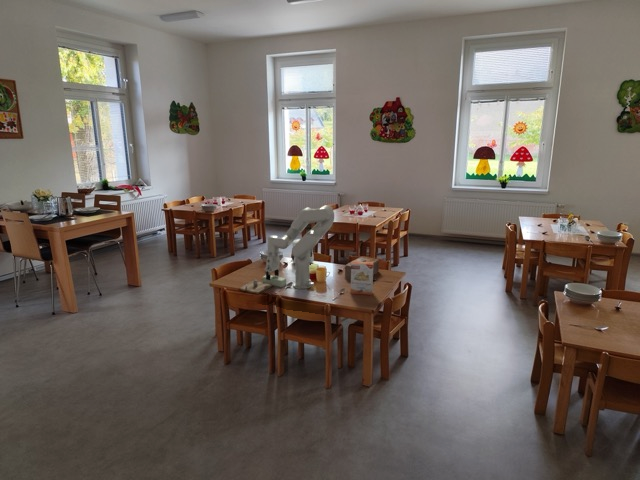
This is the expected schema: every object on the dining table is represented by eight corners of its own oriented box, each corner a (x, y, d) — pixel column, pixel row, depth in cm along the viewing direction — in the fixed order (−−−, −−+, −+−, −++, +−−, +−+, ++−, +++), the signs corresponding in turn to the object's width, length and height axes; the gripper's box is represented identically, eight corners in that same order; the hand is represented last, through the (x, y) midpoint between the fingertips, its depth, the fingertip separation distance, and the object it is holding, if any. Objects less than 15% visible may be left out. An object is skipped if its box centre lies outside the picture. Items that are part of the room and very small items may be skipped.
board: (272, 286, 286) (272, 278, 285) (258, 294, 272) (257, 286, 271) (253, 282, 294) (253, 274, 292) (238, 289, 280) (238, 281, 279)
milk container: (296, 259, 346) (296, 237, 342) (316, 261, 341) (316, 239, 337) (288, 265, 331) (288, 243, 326) (309, 267, 325) (309, 245, 321)
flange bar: (286, 284, 290) (286, 278, 289) (281, 287, 285) (281, 280, 284) (267, 280, 297) (267, 274, 296) (262, 282, 293) (262, 276, 292)
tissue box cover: (361, 268, 324) (361, 256, 321) (378, 272, 316) (379, 259, 314) (344, 278, 303) (345, 265, 300) (363, 282, 295) (363, 268, 293)
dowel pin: (247, 288, 279) (247, 284, 278) (246, 289, 278) (246, 284, 277) (246, 288, 279) (246, 283, 278) (245, 288, 278) (244, 284, 277)
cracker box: (350, 294, 273) (350, 263, 268) (351, 290, 279) (351, 260, 274) (372, 295, 271) (373, 264, 266) (372, 292, 277) (373, 261, 272)
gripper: (270, 257, 277) (269, 282, 281) (284, 251, 291) (284, 275, 296) (260, 255, 280) (260, 279, 285) (275, 249, 295) (275, 273, 299)
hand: (272, 277), depth 290 cm, fingers open, 9 cm apart
